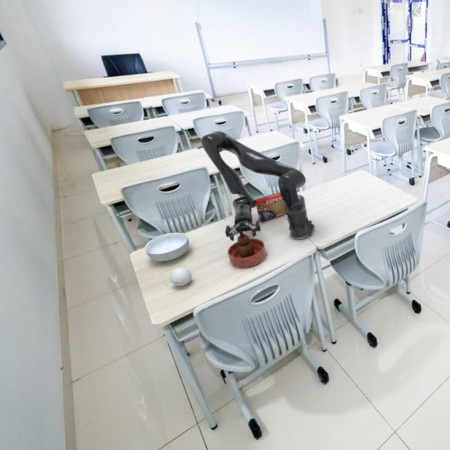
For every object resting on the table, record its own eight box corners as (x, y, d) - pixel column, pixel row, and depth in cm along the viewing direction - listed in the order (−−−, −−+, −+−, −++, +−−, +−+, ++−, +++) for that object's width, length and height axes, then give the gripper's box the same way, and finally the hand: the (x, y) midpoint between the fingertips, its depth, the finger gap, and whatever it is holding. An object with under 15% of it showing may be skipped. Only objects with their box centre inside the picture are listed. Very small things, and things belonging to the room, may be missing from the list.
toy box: (262, 222, 183) (258, 202, 176) (259, 219, 185) (254, 199, 179) (293, 211, 193) (291, 192, 187) (290, 208, 196) (287, 189, 189)
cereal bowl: (182, 266, 152) (176, 253, 149) (142, 267, 152) (136, 254, 148) (198, 243, 167) (193, 231, 163) (162, 245, 166) (156, 232, 162)
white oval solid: (189, 275, 147) (183, 261, 143) (197, 283, 143) (191, 269, 139) (163, 287, 141) (156, 273, 137) (171, 296, 137) (164, 281, 133)
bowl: (266, 245, 166) (263, 235, 163) (267, 264, 154) (264, 254, 151) (231, 251, 161) (228, 242, 158) (229, 272, 149) (226, 261, 146)
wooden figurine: (249, 261, 154) (241, 233, 146) (238, 260, 155) (229, 231, 147) (258, 252, 159) (250, 225, 151) (246, 251, 160) (238, 223, 152)
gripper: (225, 214, 160) (222, 233, 147) (257, 209, 164) (258, 226, 151) (229, 228, 164) (227, 247, 151) (261, 223, 168) (262, 241, 155)
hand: (242, 237), depth 151 cm, fingers open, 8 cm apart
